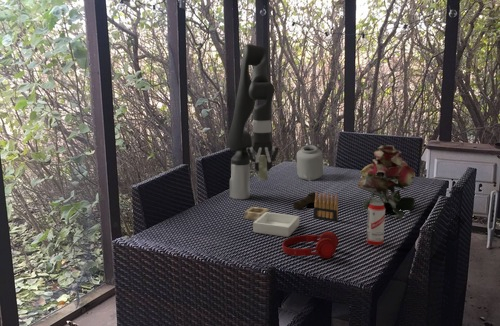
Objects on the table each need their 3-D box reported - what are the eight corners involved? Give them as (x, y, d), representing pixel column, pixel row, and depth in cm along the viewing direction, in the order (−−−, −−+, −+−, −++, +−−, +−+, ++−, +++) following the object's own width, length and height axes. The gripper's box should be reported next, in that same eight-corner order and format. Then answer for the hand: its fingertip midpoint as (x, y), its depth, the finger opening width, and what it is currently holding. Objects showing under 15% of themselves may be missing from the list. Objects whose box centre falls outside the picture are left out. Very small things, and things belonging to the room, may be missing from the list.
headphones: (340, 246, 185) (288, 247, 192) (338, 228, 184) (286, 230, 190) (335, 261, 171) (279, 262, 178) (333, 242, 170) (276, 243, 177)
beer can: (364, 241, 191) (366, 201, 188) (379, 240, 192) (382, 200, 188) (369, 247, 185) (371, 206, 182) (385, 246, 186) (388, 205, 182)
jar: (316, 183, 275) (317, 139, 270) (291, 181, 281) (292, 137, 275) (325, 176, 292) (327, 134, 287) (301, 174, 298) (302, 132, 292)
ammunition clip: (338, 220, 215) (339, 193, 212) (336, 221, 213) (337, 195, 210) (314, 217, 219) (315, 190, 217) (313, 218, 218) (314, 191, 215)
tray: (253, 232, 201) (253, 222, 200) (265, 220, 214) (265, 211, 213) (288, 237, 195) (288, 227, 194) (299, 225, 209) (299, 216, 208)
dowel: (258, 180, 210) (258, 157, 208) (257, 178, 213) (257, 155, 211) (268, 180, 210) (267, 156, 208) (266, 177, 214) (266, 155, 212)
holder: (244, 218, 217) (244, 212, 217) (251, 212, 225) (251, 206, 224) (262, 221, 214) (262, 214, 213) (269, 215, 222) (269, 208, 221)
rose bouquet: (416, 202, 240) (420, 141, 234) (409, 220, 214) (413, 152, 208) (363, 196, 251) (366, 138, 244) (350, 213, 225) (352, 148, 218)
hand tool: (300, 210, 229) (300, 201, 228) (292, 209, 231) (293, 199, 230) (320, 201, 244) (320, 192, 243) (312, 199, 246) (313, 190, 245)
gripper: (246, 132, 203) (247, 173, 206) (280, 131, 205) (280, 171, 208) (244, 130, 210) (244, 169, 214) (277, 129, 212) (277, 168, 216)
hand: (262, 170), depth 211 cm, fingers closed on dowel, 4 cm apart
